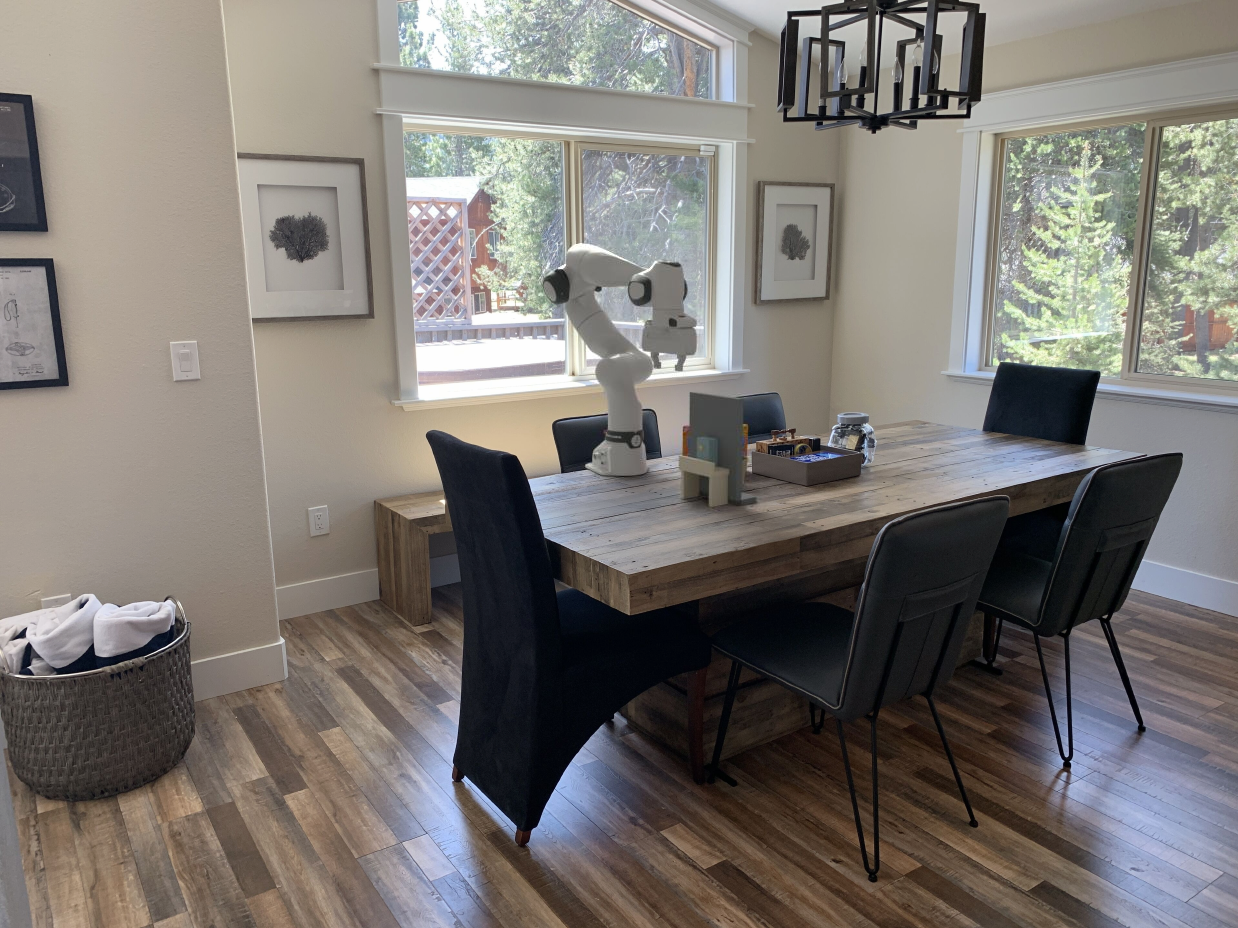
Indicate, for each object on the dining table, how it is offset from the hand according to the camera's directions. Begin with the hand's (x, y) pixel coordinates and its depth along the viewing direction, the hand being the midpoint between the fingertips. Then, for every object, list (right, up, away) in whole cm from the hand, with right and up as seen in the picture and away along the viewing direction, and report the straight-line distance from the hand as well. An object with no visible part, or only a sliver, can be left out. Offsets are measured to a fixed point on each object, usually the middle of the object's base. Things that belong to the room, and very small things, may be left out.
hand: (667, 369), depth 254 cm
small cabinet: (+11, -27, +3) cm, 29 cm away
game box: (+18, -29, +42) cm, 54 cm away
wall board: (+14, -37, +6) cm, 40 cm away
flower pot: (+21, -33, +23) cm, 46 cm away
